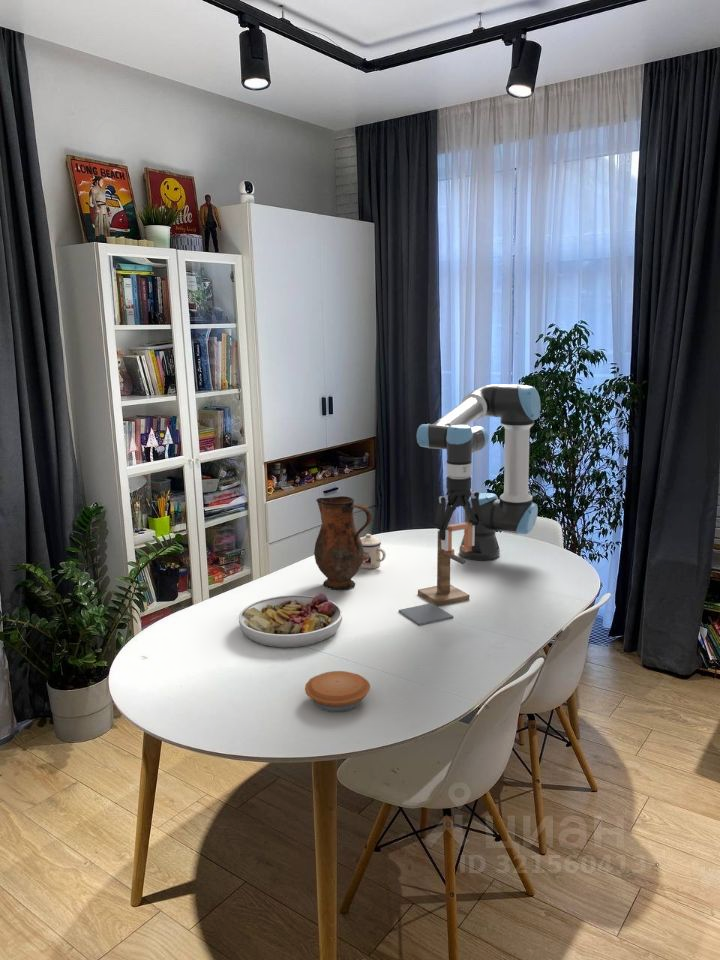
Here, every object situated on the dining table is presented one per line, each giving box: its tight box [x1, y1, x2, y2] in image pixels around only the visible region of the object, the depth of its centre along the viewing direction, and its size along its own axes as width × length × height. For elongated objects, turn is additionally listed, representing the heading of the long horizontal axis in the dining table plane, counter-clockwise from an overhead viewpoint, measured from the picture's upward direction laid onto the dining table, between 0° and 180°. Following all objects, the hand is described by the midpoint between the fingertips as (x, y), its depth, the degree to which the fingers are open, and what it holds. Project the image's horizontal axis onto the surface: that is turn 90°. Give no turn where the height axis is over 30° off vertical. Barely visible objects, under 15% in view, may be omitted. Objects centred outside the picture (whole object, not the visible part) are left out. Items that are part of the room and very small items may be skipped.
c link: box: [444, 521, 472, 556], centre depth 235 cm, size 9×2×9 cm, turn 117°
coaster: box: [398, 602, 454, 626], centre depth 231 cm, size 12×12×1 cm
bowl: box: [238, 592, 343, 648], centre depth 221 cm, size 30×30×8 cm
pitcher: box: [313, 495, 372, 591], centre depth 253 cm, size 17×21×30 cm
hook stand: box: [417, 530, 470, 607], centre depth 241 cm, size 16×12×22 cm
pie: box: [304, 670, 371, 713], centre depth 181 cm, size 15×16×5 cm
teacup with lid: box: [359, 533, 387, 569], centre depth 275 cm, size 12×9×12 cm
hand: (457, 547), depth 235 cm, fingers closed on c link, 9 cm apart
